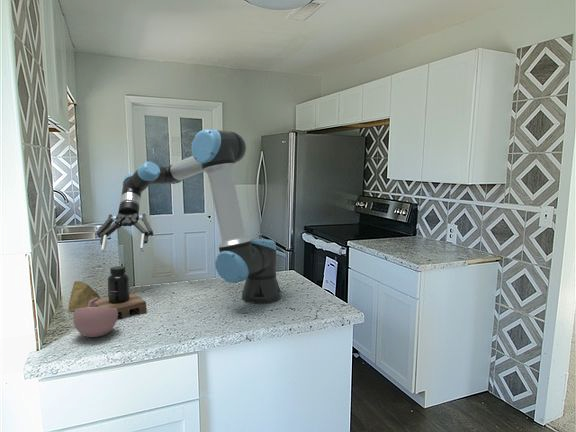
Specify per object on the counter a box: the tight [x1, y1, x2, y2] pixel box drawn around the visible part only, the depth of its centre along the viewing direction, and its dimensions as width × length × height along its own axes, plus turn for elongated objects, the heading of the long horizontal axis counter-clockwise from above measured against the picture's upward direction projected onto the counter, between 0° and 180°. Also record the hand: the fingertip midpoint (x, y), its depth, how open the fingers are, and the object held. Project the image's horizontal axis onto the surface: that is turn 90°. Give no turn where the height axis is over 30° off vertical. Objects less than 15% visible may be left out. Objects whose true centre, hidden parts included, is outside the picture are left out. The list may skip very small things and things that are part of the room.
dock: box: [93, 291, 148, 319], centre depth 134 cm, size 14×14×4 cm
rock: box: [67, 280, 101, 313], centre depth 139 cm, size 11×9×10 cm
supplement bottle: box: [107, 265, 130, 304], centre depth 134 cm, size 7×7×12 cm
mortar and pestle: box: [72, 297, 119, 338], centre depth 115 cm, size 12×12×12 cm
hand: (122, 250), depth 142 cm, fingers open, 13 cm apart
